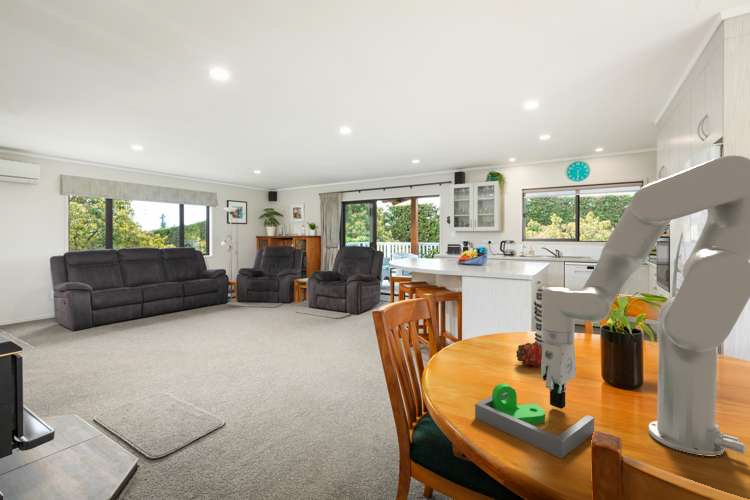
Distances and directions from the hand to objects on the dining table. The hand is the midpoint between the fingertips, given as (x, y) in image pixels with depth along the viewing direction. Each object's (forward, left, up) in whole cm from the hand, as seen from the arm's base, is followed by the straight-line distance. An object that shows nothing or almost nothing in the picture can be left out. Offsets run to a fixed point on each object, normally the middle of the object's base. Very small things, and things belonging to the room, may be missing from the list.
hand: (557, 405), depth 92 cm
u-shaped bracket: (0, +12, -1) cm, 12 cm away
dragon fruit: (+21, -25, -1) cm, 33 cm away
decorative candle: (+24, -42, -1) cm, 49 cm away
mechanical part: (+4, +11, -1) cm, 12 cm away
